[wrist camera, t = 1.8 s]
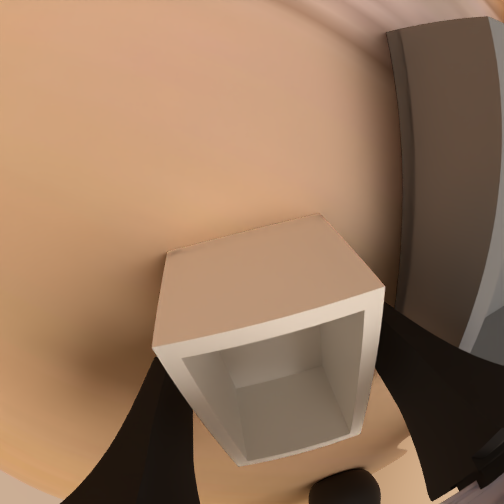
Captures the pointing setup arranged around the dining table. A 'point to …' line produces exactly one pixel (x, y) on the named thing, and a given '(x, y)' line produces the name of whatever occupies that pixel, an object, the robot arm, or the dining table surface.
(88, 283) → the dining table surface
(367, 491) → the cola bottle
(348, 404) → the small crate
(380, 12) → the dining table surface
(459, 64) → the big crate
